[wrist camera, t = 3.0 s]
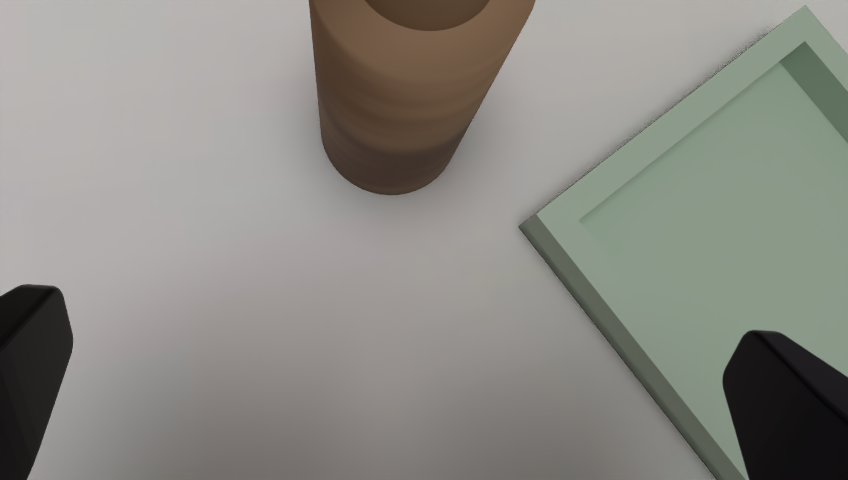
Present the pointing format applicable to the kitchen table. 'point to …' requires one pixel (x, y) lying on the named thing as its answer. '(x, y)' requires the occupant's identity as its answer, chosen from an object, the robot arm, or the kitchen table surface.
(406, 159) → the mill
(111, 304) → the kitchen table surface
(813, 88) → the tray
